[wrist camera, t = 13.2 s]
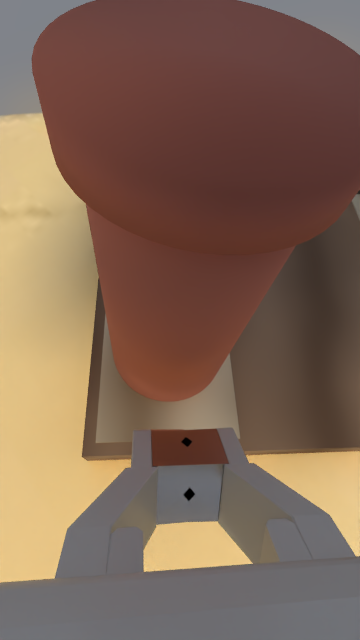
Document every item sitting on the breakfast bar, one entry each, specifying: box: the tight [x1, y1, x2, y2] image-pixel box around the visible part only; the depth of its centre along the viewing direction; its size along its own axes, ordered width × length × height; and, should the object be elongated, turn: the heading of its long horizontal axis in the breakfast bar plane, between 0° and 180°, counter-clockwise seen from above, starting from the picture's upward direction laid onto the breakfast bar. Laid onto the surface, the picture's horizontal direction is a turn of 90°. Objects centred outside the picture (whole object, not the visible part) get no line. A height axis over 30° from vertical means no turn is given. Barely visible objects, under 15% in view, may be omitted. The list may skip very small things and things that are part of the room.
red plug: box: [32, 0, 360, 402], centre depth 10 cm, size 6×6×11 cm
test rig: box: [82, 190, 360, 461], centre depth 18 cm, size 23×18×4 cm
